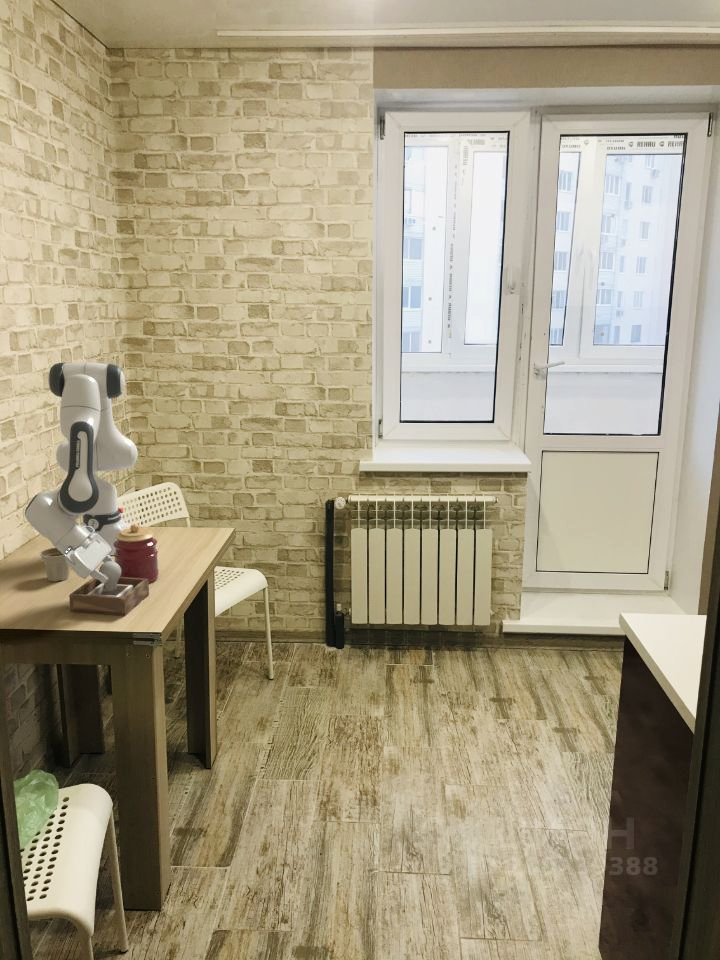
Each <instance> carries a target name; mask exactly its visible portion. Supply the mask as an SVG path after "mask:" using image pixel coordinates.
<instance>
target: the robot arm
mask: <svg viewBox="0 0 720 960" xmlns="http://www.w3.org/2000/svg"><path fill="white" fill-rule="evenodd" d="M47 382H48V383H47V384H48V386H49V389H50V392H51V393H52V394H53V395H54V396H56V397H59V398H60V399H61V400H60V408H59V423H60V433H61V434H62V436H63V437H64V438H65V439H66V441H63V442H61V443H60V444H59V446H58V448H57V449H56V454H55V457H56V462H57V464H58V465H59V467H60V468H61V469H62V470H63V471H64V472H66V473H67V475H66V477H65V479H64V481H63V482H62V484H61V486H60V488H57V489H53V490H51V491H48V492H42V493H41V492H38V493H37V494H36V495H34V497H33V498H32V499H31V500H30V501H29V503H28V504H27V506H26V508H25V510H24V518H25V520H26V521H27V522H28V523H29V525H30V526H31V527H32V528H34V529H35V531H37V532H38V533H39V534H40V535H41V536H42V537H44V538H46V539H48V540H49V541H50V543H51V545H52V546H53V548H57V549H58V550H59V551H60V552H61V553H62V554H63V555H64V556H65V559H66V562H67V564H68V565H69V566H70V569H71V570H72V571H73V572H74V573H75V574H76V575H77V576H78V577H79V578H81V579H84V580H85V579H87V578H88V577H89V576H90V577H91V578H95V579H97V580H99V581H101V582H102V583H103V584H104V583H105V582H106V581H107V580H108V579H109V577H108V576H106V575H105V574H104V575H103V574H102V573H100V572H99V568H97V567H99V566H100V564H101V563H102V562H103V563H105V562H108V561H113V562H115V560H113V557H112V556H114V553H115V547H114V545H113V544H114V542H115V541H117V539H116V535H117V534H119V533H120V532H121V531H123V530H125V529H130V527H131V525H130V524H129V523H127V522H126V521H124V520H123V519H122V515H121V514H123V513H124V507H119V506H118V504H119V503H118V490H117V487H116V486H115V485H114V484H112V482H109V481H108V480H105V479H102V478H100V476H98V475H97V473H99V472H114V471H123V470H126V469H130V468H132V467H134V466H135V464H136V462H137V460H138V458H139V457H138V456H139V451H138V448H137V445H136V444H135V443H134V441H133V440H131V439H129V438H127V437H126V436H125V435H124V434H122V433H121V431H120V430H118V428H117V426H116V424H115V422H114V417H113V415H114V414H113V407H112V405H113V404H112V399H116V398H118V397H120V396H121V395H122V394H123V391H124V389H125V386H126V377H125V375H124V372H123V369H122V368H121V367H120V366H119V365H116V364H112V363H108V364H106V363H100V362H92V361H91V362H90V361H89V362H88V361H86V362H67V363H66V362H63V361H62V362H58V363H54V364H53V365H52V366H51V367H50V369H49V372H48V376H47ZM81 517H82V523H83V524H82V525H81V524H79V523H78V522H77V519H79V518H81Z"/></svg>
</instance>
